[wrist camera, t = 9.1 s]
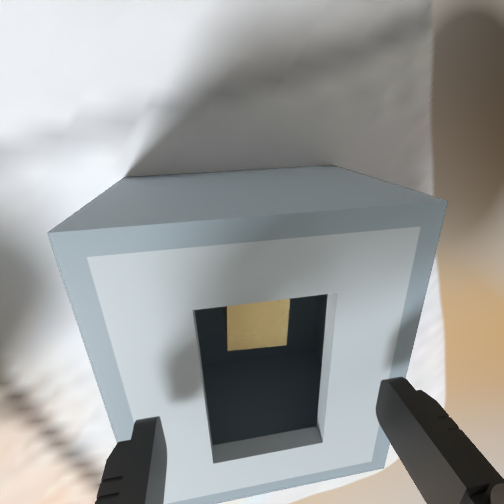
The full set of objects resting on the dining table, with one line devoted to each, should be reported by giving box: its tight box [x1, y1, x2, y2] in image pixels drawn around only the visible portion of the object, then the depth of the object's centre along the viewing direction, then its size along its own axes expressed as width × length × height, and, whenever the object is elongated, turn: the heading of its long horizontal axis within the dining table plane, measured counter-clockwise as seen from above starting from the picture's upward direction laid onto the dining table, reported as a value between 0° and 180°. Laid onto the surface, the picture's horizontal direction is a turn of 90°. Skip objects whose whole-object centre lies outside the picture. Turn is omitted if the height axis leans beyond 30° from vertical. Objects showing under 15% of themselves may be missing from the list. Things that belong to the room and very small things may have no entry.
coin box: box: [47, 165, 448, 504], centre depth 16 cm, size 14×12×9 cm
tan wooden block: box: [222, 299, 290, 351], centre depth 16 cm, size 6×3×5 cm, turn 179°
